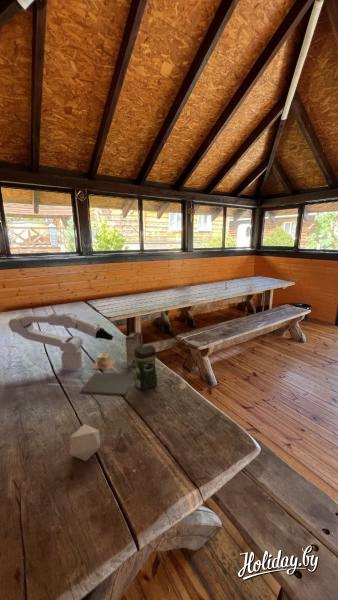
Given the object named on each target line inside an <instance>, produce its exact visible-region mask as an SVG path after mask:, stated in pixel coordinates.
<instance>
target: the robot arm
mask: <svg viewBox="0 0 338 600" xmlns="http://www.w3.org/2000/svg"><path fill="white" fill-rule="evenodd" d="M36 323H37V324H39V323H41V324H42V323H43V324H45V323H47V324H48V325H49V326H55V327H56V326H58V327H59V326H60V327H65V328H66V329H74V330H76V331H78V332H81V333H84V334H86V335H88V336H91V337H92V338H94V339H103V340H107V341H112V340H113V338H114V336H113V335H112V334H110V333H109V332H108V331H106V330H105V328H103V327H100V324H99V323H97V324H94V323H92V322H89V321H86V320H85V319H82V318H80V317H78V316H77V314H75V313H72V312H69V313H68V314H66V313H62V314H61V313H60V314H59V313H57V312H53V313H51V314H49V315H40V314H32V313H22V314H21V315H18V316H16V317H14V318H11V319H10V320H9V321H8V327H9V329H10V331H11V332H12V333H16V334H18V335H19V336H20V337H22V338H23V339H25V340H29V341H32V342H37V343H42V344H45V345H50V346H54V347H57V348H59V349H60V351H61V352H62V354H61V357H60V358H61V367H62V368H61V370H62V371H78V372H79V371H80V370H81V369H82V368H83V367H84V366H85V365H86V364H87V363H85V362H83V357H82V356H83V354H82V346H83V339H82V338H81V337H80V336H78V335H76V336H75V335H74V336H71V335H69V336H62V335H57V334H53V333H49V332H45V331H42V330H37V329H34V324H36Z"/></svg>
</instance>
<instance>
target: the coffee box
mask: <svg viewBox="0 0 338 600" xmlns="http://www.w3.org/2000/svg"><path fill="white" fill-rule="evenodd" d="M143 343H144V342H143V332H136V331H135V332H133V331H132V332H130V333H129V334H128V335H127V336H126V337H125V352H126V365H127V366H131V367H136V360H135V357H134V351H135V348H139V347H143V346H144V345H143Z"/></svg>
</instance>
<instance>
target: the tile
mask: <svg viewBox="0 0 338 600" xmlns="http://www.w3.org/2000/svg"><path fill="white" fill-rule="evenodd" d="M115 362H116V359H110V363H109V364H108V366H107V367H106V366H98V363H97V361H96V362H94V364H93V365H92V367H91V369H98V370H100V369H101V370H110V369H111V368H112V367H113V365H114V364H115Z"/></svg>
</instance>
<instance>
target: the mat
mask: <svg viewBox="0 0 338 600" xmlns="http://www.w3.org/2000/svg"><path fill="white" fill-rule="evenodd" d="M134 377H136V373H118V372H116V373H115V372H101V371H100V372H97V371H95V372H94V374H93V375H92V376H91V377H90V378H89V379H88V381H87V382H86V384H85V385H84V386H83V387H82V389H81V390H80V393H82V394H83V393H84V394H99V395H113V396H114V395H115V396H127V394H128V392H129V389H130V386H131V384H132V382H133V380H134Z"/></svg>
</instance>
